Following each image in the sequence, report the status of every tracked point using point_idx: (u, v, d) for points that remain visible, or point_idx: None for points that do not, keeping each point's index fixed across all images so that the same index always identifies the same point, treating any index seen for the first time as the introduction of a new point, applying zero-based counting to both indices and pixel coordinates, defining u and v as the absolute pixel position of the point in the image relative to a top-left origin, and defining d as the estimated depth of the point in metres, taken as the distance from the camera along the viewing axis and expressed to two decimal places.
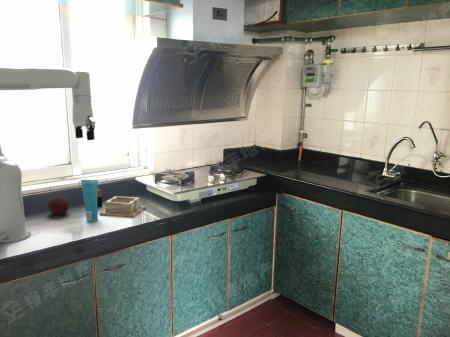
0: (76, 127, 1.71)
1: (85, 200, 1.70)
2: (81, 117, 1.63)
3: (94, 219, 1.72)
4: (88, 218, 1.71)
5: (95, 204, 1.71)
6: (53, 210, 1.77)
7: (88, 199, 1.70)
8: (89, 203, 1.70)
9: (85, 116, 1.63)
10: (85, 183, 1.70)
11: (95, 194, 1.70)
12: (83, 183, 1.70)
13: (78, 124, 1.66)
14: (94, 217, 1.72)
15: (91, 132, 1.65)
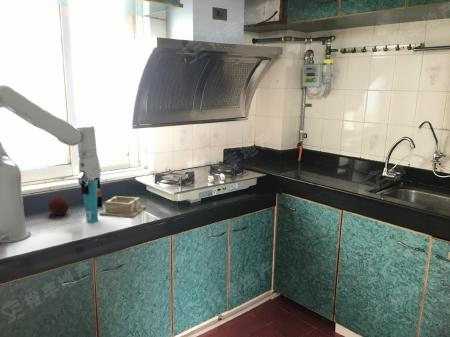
0: (87, 183, 1.66)
1: (85, 200, 1.70)
2: (98, 168, 1.72)
3: (94, 219, 1.72)
4: (88, 218, 1.71)
5: (95, 204, 1.71)
6: (53, 210, 1.77)
7: (88, 199, 1.70)
8: (89, 203, 1.70)
9: None
10: None
11: (95, 194, 1.70)
12: None
13: (96, 176, 1.70)
14: (94, 217, 1.72)
15: None
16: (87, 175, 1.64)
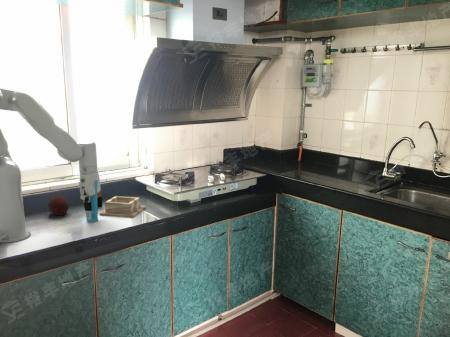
0: (89, 199, 1.69)
1: None
2: (99, 183, 1.73)
3: (94, 219, 1.72)
4: (88, 218, 1.71)
5: (95, 204, 1.71)
6: (53, 210, 1.77)
7: None
8: None
9: None
10: None
11: (95, 194, 1.70)
12: None
13: None
14: (94, 217, 1.72)
15: None
16: (87, 191, 1.65)
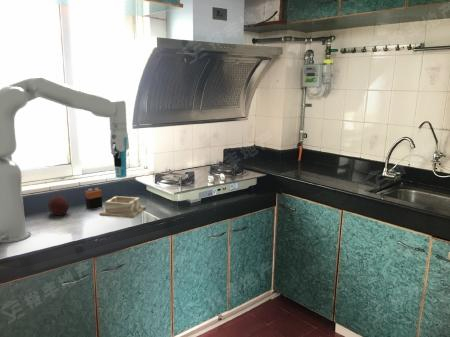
0: (119, 155, 1.78)
1: None
2: (127, 141, 1.82)
3: (123, 175, 1.81)
4: (118, 173, 1.80)
5: (124, 160, 1.80)
6: (53, 210, 1.77)
7: None
8: None
9: None
10: None
11: (125, 150, 1.80)
12: None
13: None
14: (123, 173, 1.81)
15: None
16: (118, 146, 1.75)
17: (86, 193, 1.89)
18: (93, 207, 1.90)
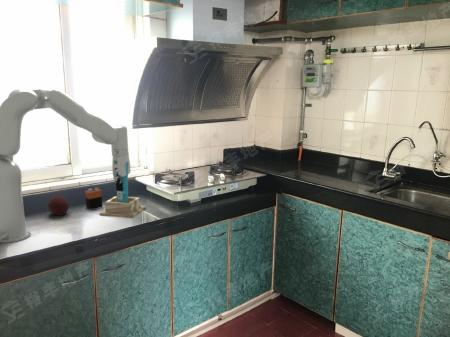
0: (121, 180, 1.81)
1: None
2: (129, 166, 1.85)
3: (125, 199, 1.83)
4: (119, 198, 1.83)
5: (126, 185, 1.83)
6: (53, 210, 1.77)
7: None
8: None
9: None
10: None
11: (126, 175, 1.82)
12: None
13: None
14: (125, 197, 1.83)
15: None
16: (119, 172, 1.77)
17: (86, 193, 1.89)
18: (93, 207, 1.90)
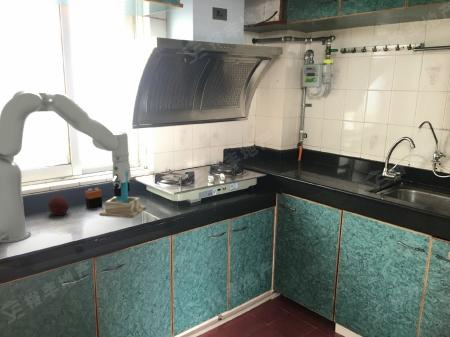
0: (119, 186, 1.79)
1: None
2: (129, 172, 1.86)
3: None
4: None
5: (126, 194, 1.83)
6: (53, 210, 1.77)
7: None
8: None
9: None
10: None
11: (126, 184, 1.83)
12: None
13: None
14: None
15: None
16: (120, 178, 1.78)
17: (86, 193, 1.89)
18: (93, 207, 1.90)
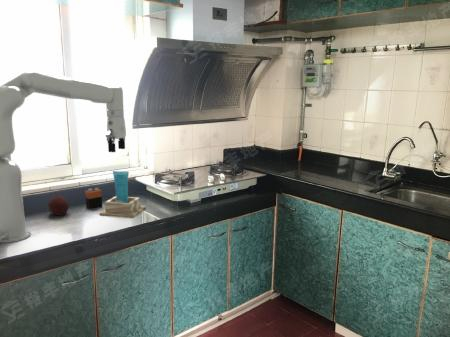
0: (114, 141, 1.75)
1: (117, 190, 1.83)
2: (124, 129, 1.81)
3: None
4: None
5: (126, 194, 1.84)
6: (53, 210, 1.77)
7: (119, 189, 1.82)
8: (120, 193, 1.83)
9: None
10: (117, 174, 1.82)
11: (126, 184, 1.83)
12: (115, 174, 1.82)
13: (122, 136, 1.79)
14: None
15: None
16: (114, 133, 1.73)
17: (86, 193, 1.89)
18: (93, 207, 1.90)
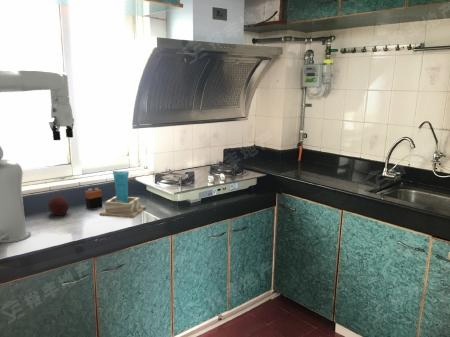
0: (58, 129, 1.69)
1: (117, 190, 1.83)
2: (71, 116, 1.76)
3: None
4: None
5: (126, 194, 1.84)
6: (53, 210, 1.77)
7: (119, 189, 1.82)
8: (120, 193, 1.83)
9: None
10: (117, 174, 1.82)
11: (126, 184, 1.83)
12: (115, 174, 1.82)
13: (68, 124, 1.73)
14: None
15: None
16: (59, 121, 1.68)
17: (86, 193, 1.89)
18: (93, 207, 1.90)
